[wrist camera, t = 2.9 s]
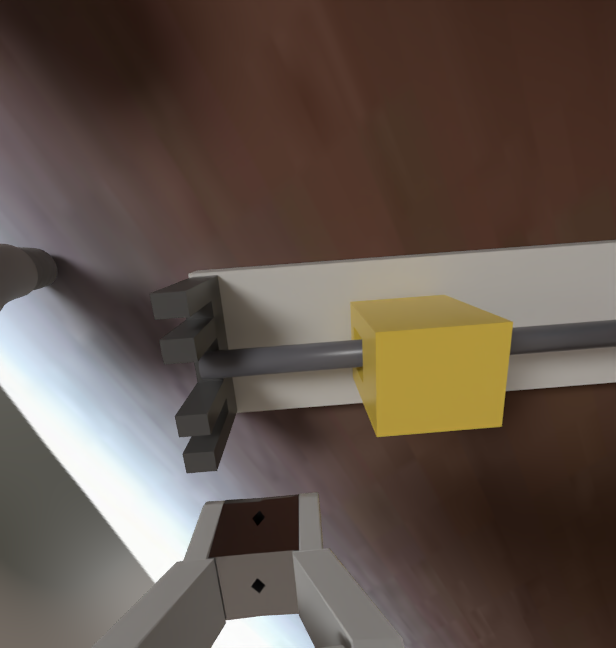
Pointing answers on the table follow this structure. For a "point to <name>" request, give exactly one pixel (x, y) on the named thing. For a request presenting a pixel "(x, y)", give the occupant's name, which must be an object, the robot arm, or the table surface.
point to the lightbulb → (23, 271)
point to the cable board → (415, 276)
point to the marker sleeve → (430, 364)
